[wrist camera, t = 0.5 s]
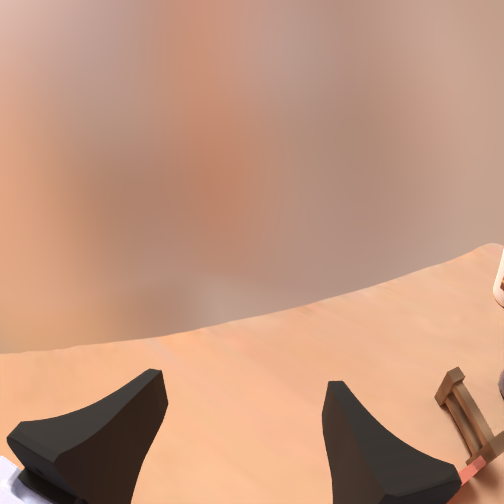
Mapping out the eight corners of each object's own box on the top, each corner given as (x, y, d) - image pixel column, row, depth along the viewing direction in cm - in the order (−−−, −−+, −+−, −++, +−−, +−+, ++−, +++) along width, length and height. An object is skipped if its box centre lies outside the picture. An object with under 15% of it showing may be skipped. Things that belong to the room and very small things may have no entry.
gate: (462, 469, 15) (480, 455, 13) (467, 477, 14) (486, 463, 12) (367, 531, 14) (376, 528, 12) (371, 540, 13) (381, 538, 11)
